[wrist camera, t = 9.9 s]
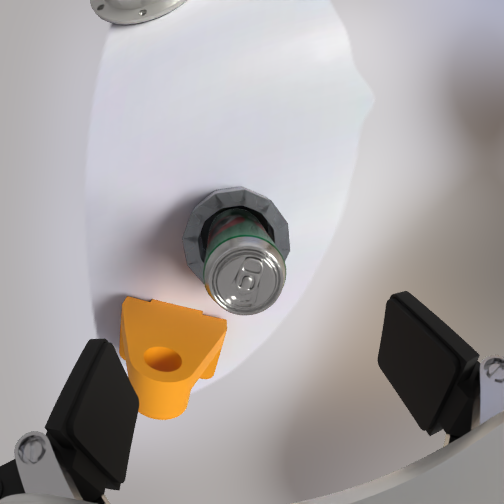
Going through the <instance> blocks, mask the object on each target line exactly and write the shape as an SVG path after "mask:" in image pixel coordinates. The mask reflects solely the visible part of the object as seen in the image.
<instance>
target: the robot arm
mask: <svg viewBox="0 0 504 504" xmlns="http://www.w3.org/2000/svg"><path fill="white" fill-rule="evenodd" d="M186 1H187V0H91V6H92V9H93V10H94V11H95V13H96V14H97V15H98V16H99V17H100V18H101V19H103V20H105V21H107V22H110V23H114V24H135V23H140V22H145V21H149V20H152V19H155V18H158V17H160V16H162V15H164V14H167V13H169V12H171V11H172V10H174V9H176V8H177V7H179V6H180V5H182V4H183V3H184V2H186ZM478 358H479V354H478V353H477V352H476V351H475V350H474V349H473V348H472V347H471V346H469V345H468V344H467V343H466V342H465V341H464V340H463V339H462V338H461V337H460V336H459V335H458V334H456V333H455V332H454V331H453V330H452V329H451V328H450V327H449V326H447V325H446V324H445V323H444V322H443V321H442V320H441V319H440V318H439V317H437V316H436V315H435V314H434V313H433V312H432V311H430V310H429V309H428V308H427V307H426V306H425V305H423V304H422V303H421V302H420V301H419V300H418V299H416V298H415V297H414V296H413V295H411V294H410V293H409V292H407V291H404V292H400V293H396V294H393V295H391V297H390V299H389V300H388V301H387V303H386V310H385V318H384V324H383V331H382V337H381V343H380V349H379V354H378V364H379V367H380V369H381V370H382V371H383V373H384V374H385V376H386V377H387V379H388V380H389V382H390V383H391V384H392V386H393V388H394V389H395V390H396V392H397V393H398V395H399V396H400V398H401V399H402V401H403V402H404V404H405V405H406V407H407V408H408V410H409V411H410V413H411V414H412V416H413V417H414V419H415V420H416V422H417V423H418V425H419V427H420V428H421V429H422V430H424V431H425V430H426V431H427V433H428V434H429V435H430V436H431V435H433V434H435V433H437V432H439V431H440V430H442V429H444V431H445V432H446V435H445V441H444V446H443V448H441V449H439V450H437V451H436V452H434V453H432V454H430V455H428V456H426V457H424V458H422V459H420V460H418V461H416V462H414V463H412V464H410V465H408V466H406V467H404V468H401V469H399V470H397V471H395V472H392V473H390V474H387V475H385V476H382V477H380V478H377V479H375V480H372V481H370V482H367V483H364V484H361V485H358V486H355V487H352V488H349V489H346V490H343V491H340V492H336V493H333V494H329V495H326V496H322V497H318V498H314V499H310V500H306V501H301V502H297V503H291V504H504V357H503V356H499V355H490V356H487V357H485V358H484V359H483V360H482V362H481V363H479V362H478V361H477V360H478ZM138 410H139V398H138V396H137V394H136V392H135V390H134V388H133V386H132V384H131V382H130V380H129V378H128V376H127V374H126V372H125V370H124V368H123V366H122V364H121V362H120V360H119V357H118V355H117V353H116V351H115V348H114V346H113V344H112V343H108V341H107V340H106V339H91V340H89V341H88V343H87V344H86V346H85V348H84V350H83V351H82V353H81V355H80V357H79V359H78V361H77V362H76V364H75V366H74V368H73V370H72V372H71V374H70V376H69V378H68V380H67V382H66V384H65V386H64V388H63V390H62V392H61V394H60V396H59V398H58V400H57V402H56V404H55V406H54V408H53V411H52V412H51V415H50V417H49V419H48V421H47V424H46V426H45V429H46V430H47V433H46V435H44V434H43V433H41V432H38V431H33V432H29V433H26V434H25V435H24V436H22V437H21V438H20V439H19V440H18V442H17V444H16V446H15V450H14V453H15V459H14V460H12V461H10V462H8V463H6V464H4V465H2V466H0V504H110V502H109V501H108V499H107V498H106V497H105V495H104V492H105V488H107V489H113V490H119V489H120V484H121V483H123V482H124V481H125V477H126V471H127V465H128V459H129V453H130V448H131V443H132V438H133V433H134V428H135V423H136V419H137V414H138Z"/></svg>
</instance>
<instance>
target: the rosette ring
mask: <svg viewBox="0 0 504 504" xmlns="http://www.w3.org/2000/svg"><path fill="white" fill-rule="evenodd" d="M240 205H243V206H246V207H248V208H251V209H253V210H256V211H258V212H260V213H262V215H263V216H264V217H265V219H266V220H267V222H268V231H269V236H270V238H271V239H272V241H273V242H274V244H275V245H276V247H277V248H278V250H279V251H280V253H281V255H282V256H283V259H284V261H285V260H286V258H287V256H288V254H289V252H290V243H289V231H288V223H287V222H286V220H285V219H284V218H283V216H282V215H281V213H280V212H279V211H278V209H277V208H276V206H275V205H274V204H273V202H272V201H271V200H269V199H268V198H267V197H265V196H263V195H261V194H258V193H256V192H254V191H251V190H249V189H246V188H244V187H235V188H227V189H220V190H216V191H214V192H213V193H212V194H210V195H209V196H208V197H207V198H205V199H204V200H203V201H202V202H200V203H199V204H198V205H197V206H196V207H195V208H194V210H193V211H192V214H191V216H190V219H189V222H188V224H187V227H186V230H185V232H184V235H183V238H182V240H183V245H184V250H185V256H186V261H187V265H188V266H189V268H190V269H191V270H192V271H193V272H194V273H195V274H196V276H197V277H198V278H199V279H200V280H201V281H202V282H203V283H204V280H203V269H204V262H205V256H206V251H205V250H204V248H203V244H202V238H201V229H202V227H203V224H204V222H205V220H207V219H208V218H209V217H210V216H212V215H213V214H214V213H216V212H217V211H218V210H219V209H221V208H225V207H232V206H240Z"/></svg>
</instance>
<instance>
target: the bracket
mask: <svg viewBox="0 0 504 504" xmlns="http://www.w3.org/2000/svg"><path fill="white" fill-rule="evenodd" d="M202 313H203V311H200V310H196V309H191V308H187V307H183V306H178V305H174V304H170V303H166V302H162V301H158V300H154V299H152V300H151V302H148V301H144V300H140V299H136V298H133V297H129V296H127V297H126V299H125V301H124V302H123V304H122V313H121V327H120V347H119V353H120V356H121V357H122V358H123V359H124V360H126V365H127V371H128V378H129V380H130V382H131V384H132V386H133V388H134V390H135V392H136V394H137V396H138V398H139V410H138V412H140V413H141V414H143V415H145V416H147V417H149V418H153V419H159V420H167V419H172V418H175V417H178V416H179V415H181V414H182V413H183V412H184V411H185V409H186V407H187V404H188V400H189V396H190V391H191V389H192V387H193V386H194V384H195V383H196V382H197V380H198V379H199V378H201V379H209V378H211V377H212V376H213V375H214V372H215V369H216V365H217V362H218V358H219V355H220V352H221V348H222V345H223V341H224V338H225V334H226V331H227V320H225V319H220V318H216V317H211V316H206V315H202Z"/></svg>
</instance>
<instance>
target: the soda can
mask: <svg viewBox="0 0 504 504" xmlns="http://www.w3.org/2000/svg"><path fill="white" fill-rule="evenodd" d="M203 280H204V285H205V288H206V290H207V292H208V294H209V295H210V296H211V298H212V299H213V300H214V301H215V302H216V303H217V304H218V305H219V306H220V307H222V308H223V309H225V310H226V311H228V312H230V313H233V314H237V315H253V314H257V313H260V312H262V311H264V310H266V309H267V308H269V307H270V306H271V305H272V304H273V303H274V302H275V301H276V300H277V299H278V297H279V295H280V293H281V291H282V288H283V286H284V283H285V280H286V266H285V261H284V259H283V256H282V255H281V253H280V251H279V250H278V248H277V247H276V245H275V244H274V242H273V241H272V239H271V238H270V236H269V235H268V234H267V232H266V231H265V229H264V228H263V226H262V225H261V223H260V222H259V220H258V219H257V218H256V217H255V216H254V215H253V214H252V213H250V212H249V211H246V210H243V209H229V210H226V211H224V212H222V213H220V214H219V215H218V216H217V217H216V218H215V219H214V221H213V222H212V224H211V227H210V231H209V237H208V243H207V249H206V256H205V262H204V269H203Z"/></svg>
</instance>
